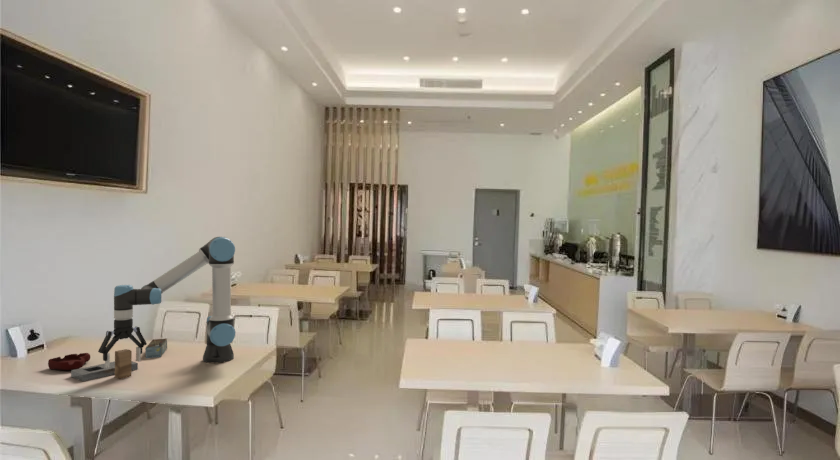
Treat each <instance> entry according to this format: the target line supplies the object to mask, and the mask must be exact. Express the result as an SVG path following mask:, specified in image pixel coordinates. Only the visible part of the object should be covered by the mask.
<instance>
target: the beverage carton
mask: <svg viewBox="0 0 840 460" xmlns="http://www.w3.org/2000/svg"><path fill="white" fill-rule="evenodd" d="M144 349H145V350H144V351H145V353H144V354H145V358H146V359H151V358H153V359H154V358H155V359H156V358H162V356H163V355H164V354H165V353H166V351H167V349H168V338H155V339H151V341H150V342H149V343H148V344H147V345H146V347H145V348H144Z"/></svg>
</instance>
